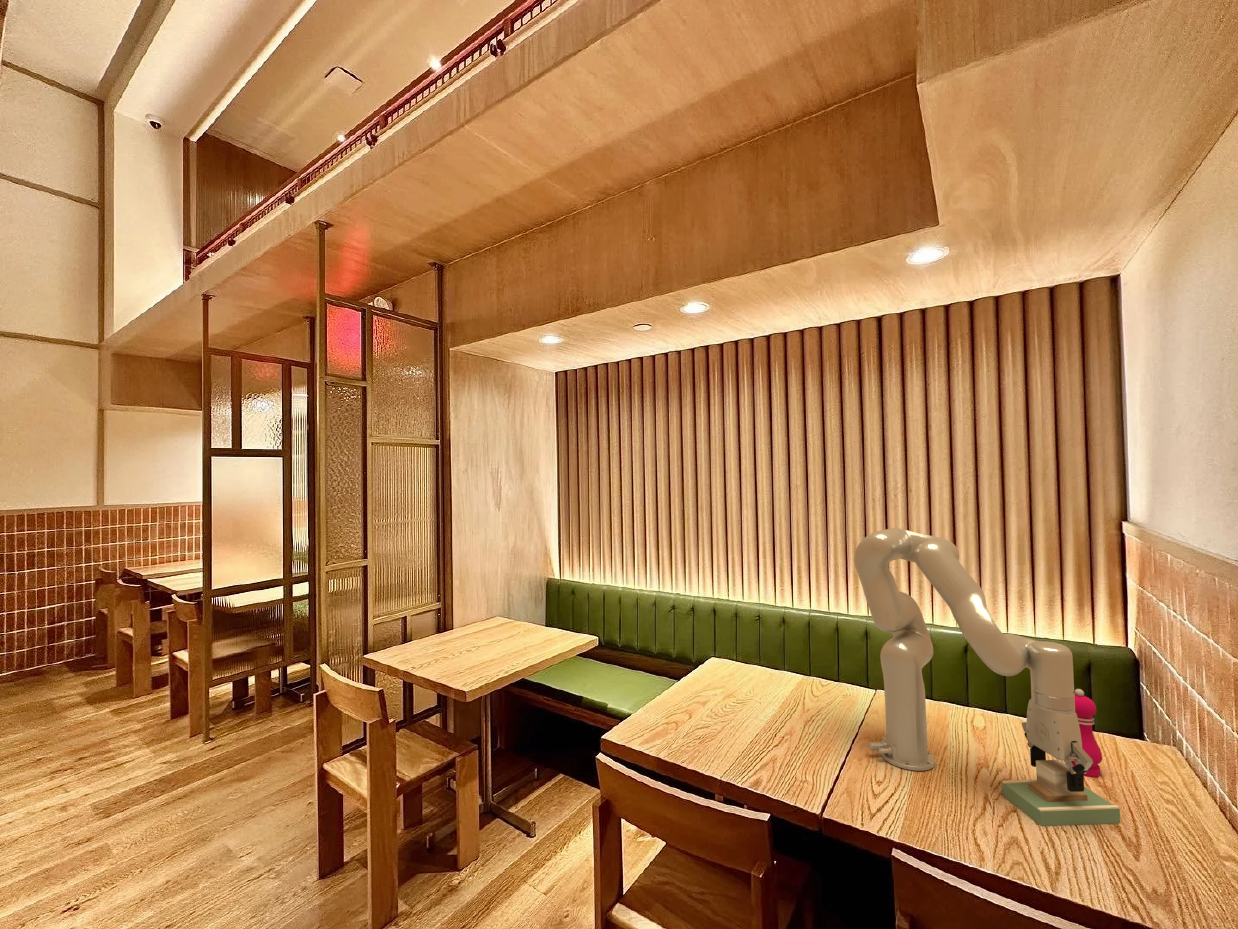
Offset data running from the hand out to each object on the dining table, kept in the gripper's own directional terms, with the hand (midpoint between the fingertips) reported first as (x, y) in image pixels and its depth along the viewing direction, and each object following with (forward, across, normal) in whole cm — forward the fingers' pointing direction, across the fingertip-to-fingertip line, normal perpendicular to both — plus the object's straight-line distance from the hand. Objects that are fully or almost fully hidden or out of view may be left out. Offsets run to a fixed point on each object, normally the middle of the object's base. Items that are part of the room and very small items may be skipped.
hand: (1056, 778), depth 117 cm
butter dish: (+4, 0, 0) cm, 4 cm away
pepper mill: (+7, -14, +19) cm, 25 cm away
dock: (+7, 0, 0) cm, 7 cm away
